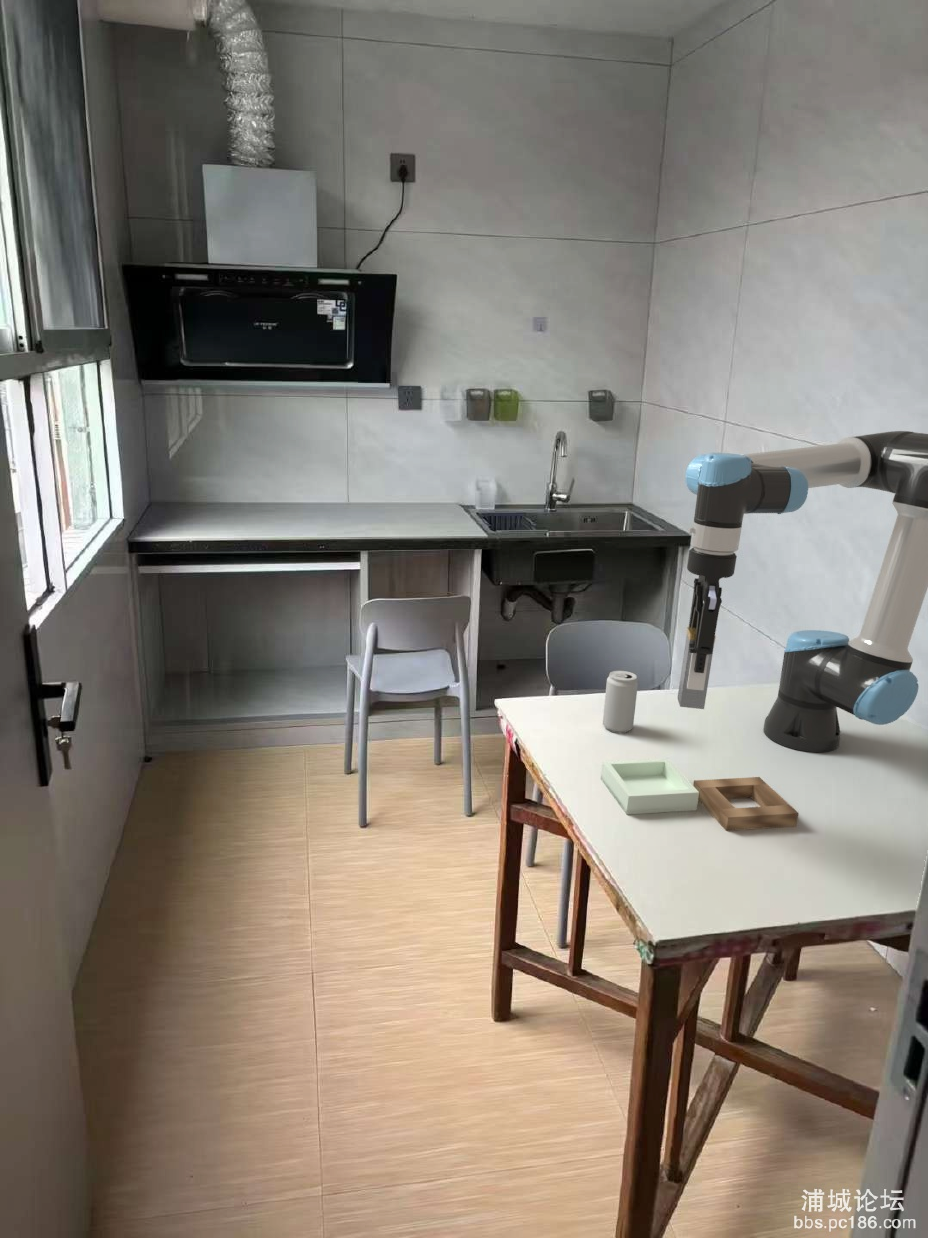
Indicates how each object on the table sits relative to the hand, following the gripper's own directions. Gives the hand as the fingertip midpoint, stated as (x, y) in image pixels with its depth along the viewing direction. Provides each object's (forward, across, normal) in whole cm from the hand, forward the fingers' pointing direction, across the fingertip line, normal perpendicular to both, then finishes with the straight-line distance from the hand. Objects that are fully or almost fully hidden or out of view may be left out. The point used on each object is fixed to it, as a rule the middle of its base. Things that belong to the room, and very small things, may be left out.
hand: (693, 683), depth 148 cm
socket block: (+22, +1, +12) cm, 25 cm away
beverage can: (+22, -29, -9) cm, 38 cm away
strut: (+4, 0, 0) cm, 4 cm away
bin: (+22, -1, -5) cm, 23 cm away
